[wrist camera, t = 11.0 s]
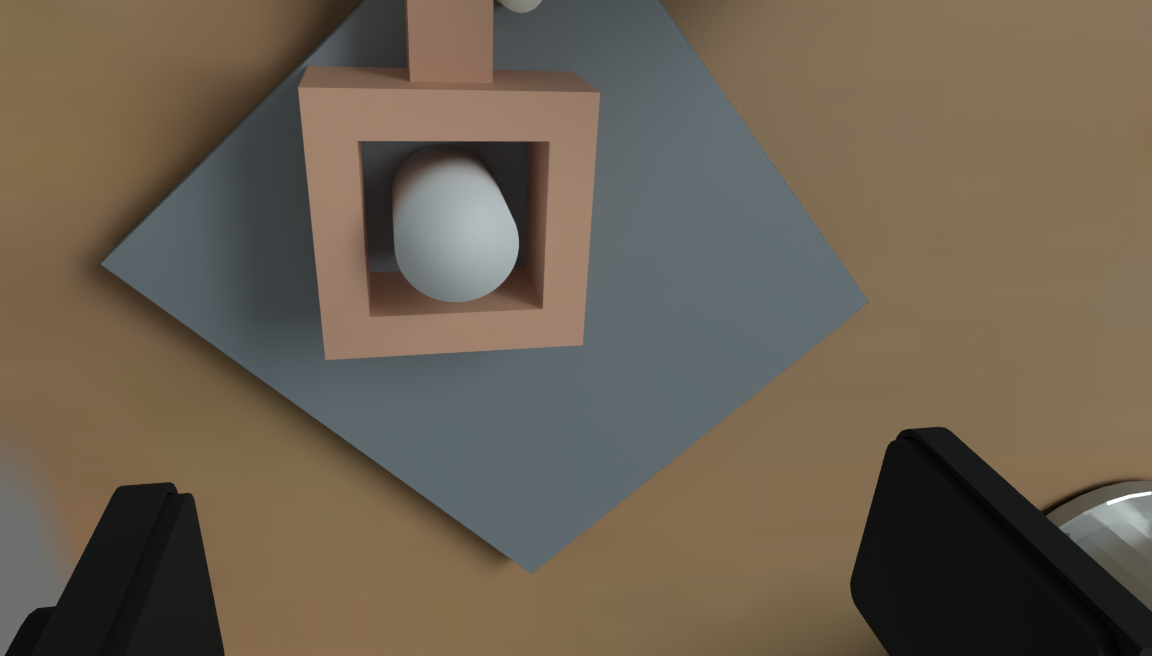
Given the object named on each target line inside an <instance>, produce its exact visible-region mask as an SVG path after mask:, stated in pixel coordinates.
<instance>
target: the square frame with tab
mask: <svg viewBox="0 0 1152 656" xmlns="http://www.w3.org/2000/svg"><path fill="white" fill-rule="evenodd" d="M405 24H406V50H407V68H392V67H347V66H307V69H306V71H305V73H304V75H303V77H302V80H301V82H300V84H299V86H298V92H299V102H300V112H301V122H302V132H303V142H304V152H305V162H306V172H307V182H308V192H309V202H310V212H311V222H312V232H313V242H314V252H315V262H316V272H317V282H318V292H319V302H320V311H321V321H322V331H323V341H324V351H325V360H335V359H353V358H370V357H387V356H404V355H422V354H439V353H456V352H474V351H491V350H508V349H525V348H543V347H560V346H577V345H583V334H584V320H585V305H586V291H587V276H588V262H589V247H590V233H591V218H592V204H593V189H594V175H595V160H596V145H597V131H598V116H599V102H600V92H599V91H598V90H596V89H595V88H594V87H593V86H591V85H590V84H589V83H587V82H586V81H585V80H583V79H582V78H581V77H580V76H578V75H577V74H576V73H574V72H571V71H526V70H493V0H405ZM361 141H528V171H527V205H526V239H525V267H513V269H512V271H511V272H510V274H509V275H508V277H507V278H506V279H505V281H504V282H503V283H502V284H501V285H500V286H498V287H497V288H496V289H495V290H493V291H492V292H490V293H488V294H487V295H485V296H482V297H480V298H477V299H474V300H470V301H465V302H446V301H440V300H437V299H434V298H431V297H429V296H427V295H425V294H423V293H421V292H420V291H418V290H417V289H416V288H415V287H413V286H412V285H411V284H410V283H409V282H408V281H407V279H406V278H405V277H404V275H403V274H402V272H401V271H391V272H370V265H369V250H368V235H367V220H366V205H365V190H364V175H363V161H362V146H361Z"/></svg>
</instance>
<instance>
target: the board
mask: <svg viewBox="0 0 1152 656" xmlns="http://www.w3.org/2000/svg"><path fill="white" fill-rule="evenodd" d="M307 66H347V67H392V68H407V50H406V24H405V0H364V1H363V2H362V3H361V4H360V5H359V6H358V7H357V8H356V9H355V10H354V11H353V12H352V13H351V14H350V15H349V16H348V17H347V18H346V19H345V20H344V21H343V22H342V23H341V24H340V25H339V26H338V27H336V28H335V29H334V30H333V31H332V32H331V33H330V34H329V35H328V36H327V37H326V38H325V39H324V40H323V41H322V42H321V43H320V44H319V45H318V46H317V47H316V48H315V49H314V50H313V51H312V52H311V53H310V54H309V55H308V56H307V57H306V58H305V59H304V60H303V61H302V62H301V63H300V64H299V65H298V66H297V67H296V68H295V69H294V70H293V71H292V72H291V73H290V74H289V75H288V76H287V77H286V78H285V79H284V80H283V81H282V82H281V83H280V84H279V85H278V86H277V87H276V88H275V89H274V90H273V91H272V92H271V93H270V94H269V95H268V96H267V97H266V98H265V99H264V100H263V101H262V102H261V103H260V104H258V105H257V106H256V107H255V108H254V109H253V110H252V111H251V112H250V113H249V114H248V115H247V116H246V117H245V118H244V119H243V120H242V121H241V122H240V123H239V124H238V125H237V126H236V127H235V128H234V129H233V130H232V131H231V132H230V133H229V134H228V135H227V136H226V137H225V138H224V139H223V140H222V141H221V142H220V143H219V144H218V145H217V146H216V147H215V148H214V149H213V150H212V151H211V152H210V153H209V154H208V155H207V156H206V157H205V158H204V159H203V160H202V161H201V162H200V163H199V164H198V165H197V166H196V167H195V168H194V169H193V170H192V171H191V172H190V173H189V174H188V175H187V176H186V177H185V178H184V179H183V180H182V181H180V182H179V183H178V184H177V185H176V186H175V187H174V188H173V189H172V190H171V191H170V192H169V193H168V194H167V195H166V196H165V197H164V198H163V199H162V200H161V201H160V202H159V203H158V204H157V205H156V206H155V207H154V208H153V209H152V210H151V211H150V212H149V213H148V214H147V215H146V216H145V217H144V218H143V219H142V220H141V221H140V222H139V223H138V224H137V225H136V226H135V227H134V228H133V229H132V230H131V231H130V232H129V233H128V234H127V235H126V236H125V237H124V238H123V239H122V240H121V241H120V242H119V243H118V244H117V245H116V246H115V247H114V248H113V249H112V250H111V251H110V253H109V254H108V255H107V256H106V258H105V259H104V260H103V261H102V263H101V265H102V266H104V267H105V268H107V269H108V270H109V271H111V272H112V273H113V274H115V275H116V276H118V277H119V278H120V279H122V280H123V281H125V282H126V283H127V284H129V285H130V286H132V287H133V288H134V289H136V290H137V291H139V292H140V293H141V294H143V295H144V296H145V297H147V298H148V299H150V300H151V301H152V302H154V303H155V304H157V305H158V306H159V307H161V308H162V309H164V310H165V311H166V312H168V313H169V314H171V315H172V316H173V317H175V318H176V319H177V320H179V321H180V322H182V323H183V324H184V325H186V326H187V327H189V328H190V329H191V330H193V331H194V332H196V333H197V334H198V335H200V336H201V337H203V338H204V339H205V340H207V341H208V342H210V343H211V344H212V345H214V346H215V347H216V348H218V349H219V350H221V351H222V352H223V353H225V354H226V355H228V356H229V357H230V358H232V359H233V360H235V361H236V362H237V363H239V364H240V365H242V366H243V367H244V368H246V369H247V370H248V371H250V372H251V373H253V374H254V375H255V376H257V377H258V378H260V379H261V380H262V381H264V382H265V383H267V384H268V385H269V386H271V387H272V388H274V389H275V390H276V391H278V392H279V393H280V394H282V395H283V396H285V397H286V398H287V399H289V400H290V401H292V402H293V403H294V404H296V405H297V406H299V407H300V408H301V409H303V410H304V411H306V412H307V413H308V414H310V415H311V416H312V417H314V418H315V419H317V420H318V421H319V422H321V423H322V424H324V425H325V426H326V427H328V428H329V429H331V430H332V431H333V432H335V433H336V434H338V435H339V436H340V437H342V438H343V439H344V440H346V441H347V442H349V443H350V444H351V445H353V446H354V447H356V448H357V449H358V450H360V451H361V452H363V453H364V454H365V455H367V456H368V457H370V458H371V459H372V460H374V461H375V462H376V463H378V464H379V465H381V466H382V467H383V468H385V469H386V470H388V471H389V472H390V473H392V474H393V475H395V476H396V477H397V478H399V479H400V480H402V481H403V482H404V483H406V484H407V485H408V486H410V487H411V488H413V489H414V490H415V491H417V492H418V493H420V494H421V495H422V496H424V497H425V498H427V499H428V500H429V501H431V502H432V503H434V504H435V505H436V506H438V507H439V508H440V509H442V510H443V511H445V512H446V513H447V514H449V515H450V516H452V517H453V518H454V519H456V520H457V521H459V522H460V523H461V524H463V525H464V526H466V527H467V528H468V529H470V530H471V531H473V532H474V533H475V534H477V535H478V536H479V537H481V538H482V539H484V540H485V541H486V542H488V543H489V544H491V545H492V546H493V547H495V548H496V549H498V550H499V551H500V552H502V553H503V554H505V555H506V556H507V557H509V558H510V559H511V560H513V561H514V562H516V563H517V564H518V565H520V566H521V567H523V568H524V569H525V570H527V571H528V572H530V573H531V574H532V573H533V572H534V571H536V570H537V569H538V568H539V567H541V566H542V565H543V564H544V563H546V562H547V561H548V560H549V559H551V558H552V557H553V556H554V555H555V554H557V553H558V552H559V551H560V550H562V549H563V548H564V547H565V546H567V545H568V544H569V543H570V542H572V541H573V540H574V539H575V538H577V537H578V536H579V535H580V534H582V533H583V532H584V531H585V530H587V529H588V528H589V527H590V526H592V525H593V524H594V523H595V522H596V521H598V520H599V519H600V518H601V517H603V516H604V515H605V514H606V513H608V512H609V511H610V510H611V509H613V508H614V507H615V506H616V505H618V504H619V503H620V502H621V501H623V500H624V499H625V498H626V497H628V496H629V495H630V494H631V493H632V492H634V491H635V490H636V489H637V488H639V487H640V486H641V485H642V484H644V483H645V482H646V481H647V480H649V479H650V478H651V477H652V476H654V475H655V474H656V473H657V472H659V471H660V470H661V469H662V468H664V467H665V466H666V465H667V464H668V463H670V462H671V461H672V460H673V459H675V458H676V457H677V456H678V455H680V454H681V453H682V452H683V451H685V450H686V449H687V448H688V447H690V446H691V445H692V444H693V443H695V442H696V441H697V440H698V439H700V438H701V437H702V436H703V435H705V434H706V433H707V432H708V431H709V430H711V429H712V428H713V427H714V426H716V425H717V424H718V423H719V422H721V421H722V420H723V419H724V418H726V417H727V416H728V415H729V414H731V413H732V412H733V411H734V410H736V409H737V408H738V407H739V406H741V405H742V404H743V403H744V402H745V401H747V400H748V399H749V398H750V397H752V396H753V395H754V394H755V393H757V392H758V391H759V390H760V389H762V388H763V387H764V386H765V385H767V384H768V383H769V382H770V381H772V380H773V379H774V378H775V377H777V376H778V375H779V374H780V373H781V372H783V371H784V370H785V369H786V368H788V367H789V366H790V365H791V364H793V363H794V362H795V361H796V360H798V359H799V358H800V357H801V356H803V355H804V354H805V353H806V352H808V351H809V350H810V349H811V348H813V347H814V346H815V345H816V344H817V343H819V342H820V341H821V340H822V339H824V338H825V337H826V336H827V335H829V334H830V333H831V332H832V331H834V330H835V329H836V328H837V327H839V326H840V325H841V324H842V323H844V322H845V321H846V320H847V319H849V318H850V317H851V316H852V315H854V314H855V313H856V312H857V311H858V310H860V309H861V308H862V307H863V306H865V305H866V304H867V303H868V302H869V301H868V300H867V298H866V297H865V295H864V294H863V293H862V291H861V290H860V288H859V287H858V285H857V284H856V283H855V281H854V280H853V278H852V277H851V275H850V274H849V272H848V271H847V270H846V268H845V267H844V265H843V264H842V262H841V261H840V260H839V258H838V257H837V255H836V254H835V252H834V251H833V249H832V248H831V247H830V245H829V244H828V242H827V241H826V239H825V238H824V236H823V235H822V234H821V232H820V231H819V229H818V228H817V226H816V225H815V224H814V222H813V221H812V219H811V218H810V216H809V215H808V213H807V212H806V211H805V209H804V208H803V206H802V205H801V203H800V202H799V201H798V199H797V198H796V196H795V195H794V193H793V192H792V190H791V189H790V188H789V186H788V185H787V183H786V182H785V180H784V179H783V178H782V176H781V175H780V173H779V172H778V170H777V169H776V167H775V166H774V165H773V163H772V162H771V160H770V159H769V157H768V156H767V155H766V153H765V152H764V150H763V149H762V147H761V146H760V144H759V143H758V142H757V140H756V139H755V137H754V136H753V134H752V133H751V131H750V130H749V129H748V127H747V126H746V124H745V123H744V121H743V120H742V119H741V117H740V116H739V114H738V113H737V111H736V110H735V108H734V107H733V106H732V104H731V103H730V101H729V100H728V98H727V97H726V96H725V94H724V93H723V91H722V90H721V88H720V87H719V85H718V84H717V83H716V81H715V80H714V78H713V77H712V75H711V74H710V73H709V71H708V70H707V68H706V67H705V65H704V64H703V62H702V61H701V60H700V58H699V57H698V55H697V54H696V52H695V51H694V49H693V48H692V47H691V45H690V44H689V42H688V41H687V39H686V38H685V37H684V35H683V34H682V32H681V31H680V29H679V28H678V26H677V25H676V24H675V22H674V21H673V19H672V18H671V16H670V15H669V14H668V12H667V11H666V9H665V8H664V6H663V5H662V3H661V2H660V1H659V0H493V70H526V71H571V72H574V73H576V74H577V75H578V76H580V77H581V78H582V79H583V80H585V81H586V82H587V83H589V84H590V85H591V86H593V87H594V88H595V89H596V90H598V91H599V92H600V102H599V116H598V131H597V145H596V160H595V175H594V189H593V204H592V218H591V233H590V247H589V262H588V276H587V291H586V305H585V320H584V334H583V345H577V346H560V347H543V348H525V349H508V350H491V351H474V352H456V353H439V354H422V355H404V356H387V357H370V358H353V359H335V360H325V351H324V341H323V331H322V321H321V311H320V302H319V292H318V282H317V272H316V262H315V252H314V242H313V232H312V222H311V212H310V202H309V192H308V182H307V172H306V162H305V152H304V142H303V132H302V122H301V112H300V102H299V92H298V86H299V84H300V82H301V80H302V77H303V75H304V73H305V71H306V69H307ZM361 146H362V161H363V175H364V190H365V205H366V220H367V235H368V250H369V265H370V272H391V271H401V272H402V274H403V275H404V277H405V278H406V279H407V281H408V282H409V283H410V284H411V285H412V286H413V287H415V288H416V289H417V290H418V291H420V292H421V293H423V294H425V295H427V296H429V297H431V298H434V299H437V300H440V301H446V302H465V301H470V300H474V299H477V298H480V297H482V296H485V295H487V294H488V293H490V292H492V291H493V290H495V289H496V288H497V287H498V286H500V285H501V284H502V283H503V282H504V281H505V279H506V278H507V277H508V275H509V274H510V272H511V271H512V269H513V267H525V239H526V205H527V171H528V141H361Z"/></svg>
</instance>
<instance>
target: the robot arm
mask: <svg viewBox="0 0 1152 656" xmlns="http://www.w3.org/2000/svg"><path fill="white" fill-rule="evenodd" d="M850 590H851V595H852V598H853V601H854V603H855V605H856V607H857V609H858V610H859V612H860V613H861V615H862V616H863V618H864V619H865V620H866V622H867V623H868V625H869V626H870V628H871V629H872V631H873V632H874V634H875V635H876V637H877V638H878V640H879V641H880V642H881V644H882V645H883V647H884V648H885V650H886V651H887V653H888V654H889V656H1152V482H1151V481H1133V482H1122V483H1118V484H1114V485H1109V486H1105V487H1101V488H1099V489H1096V490H1093V491H1091V492H1088V493H1086V494H1083V495H1080V496H1078V497H1076V498H1074V499H1073V500H1071V501H1069V502H1067V503H1065V504H1063V505H1061V506H1059V507H1058V508H1056V509H1055V510H1053V511H1052V512H1050V513H1049V514H1047V515H1046V516H1045V515H1044V514H1043V513H1041V512H1040V511H1039V510H1038V509H1037V508H1036V507H1035V506H1034V505H1033V504H1031V503H1030V502H1029V501H1028V500H1027V499H1026V498H1025V497H1024V496H1022V495H1021V494H1020V493H1019V492H1018V491H1017V490H1016V489H1015V488H1014V487H1012V486H1011V485H1010V484H1009V483H1008V482H1007V481H1006V480H1005V479H1004V478H1002V477H1001V476H1000V475H999V474H998V473H997V472H996V471H995V470H993V469H992V468H991V467H990V466H989V465H988V464H987V463H986V462H985V461H983V460H982V459H981V458H980V457H979V456H978V455H977V454H976V453H974V452H973V451H972V450H971V449H970V448H969V447H968V446H967V445H966V444H964V443H963V442H962V441H961V440H960V439H959V438H958V437H957V436H956V435H954V434H953V433H952V432H951V431H949V430H948V429H946V428H943V427H930V428H916V429H906V430H903V431H901V432H900V433H899V434H898V436H897V438H896V440H894V441H891V443H890V444H889V445H888V447H887V449H886V453H885V456H884V460H883V464H882V467H881V471H880V475H879V478H878V482H877V485H876V489H875V493H874V496H873V500H872V504H871V507H870V511H869V515H868V518H867V522H866V526H865V529H864V533H863V537H862V540H861V544H860V547H859V551H858V555H857V558H856V562H855V566H854V569H853V573H852V577H851V582H850ZM5 656H225V655H224V648H223V643H222V638H221V633H220V628H219V623H218V617H217V612H216V607H215V602H214V597H213V592H212V587H211V582H210V577H209V572H208V566H207V561H206V556H205V551H204V546H203V541H202V536H201V531H200V526H199V521H198V516H197V510H196V505H195V501H194V498H193V496H192V494H190V493H183V494H178V492H177V489H176V487H175V485H174V484H173V483H171V482H167V483H153V484H140V485H126V486H120V487H118V488H117V489H116V491H115V492H114V494H113V496H112V497H111V499H110V501H109V503H108V505H107V507H106V509H105V511H104V513H103V515H102V517H101V519H100V521H99V523H98V525H97V527H96V529H95V531H94V533H93V535H92V537H91V538H90V540H89V542H88V544H87V546H86V548H85V550H84V552H83V554H82V556H81V558H80V560H79V562H78V564H77V566H76V568H75V570H74V572H73V574H72V576H71V578H70V579H69V581H68V583H67V585H66V587H65V589H64V591H63V593H62V595H61V597H60V599H59V601H58V603H57V605H56V606H54V607H44V608H37V609H36V610H35V611H33V612H32V613H30V614H29V615H28V617H27V618H26V620H25V621H24V623H23V624H22V625H21V627H20V629H19V631H18V632H17V634H16V636H15V638H14V640H13V641H12V643H11V645H10V647H9V649H8V651H7V652H6V654H5Z"/></svg>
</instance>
